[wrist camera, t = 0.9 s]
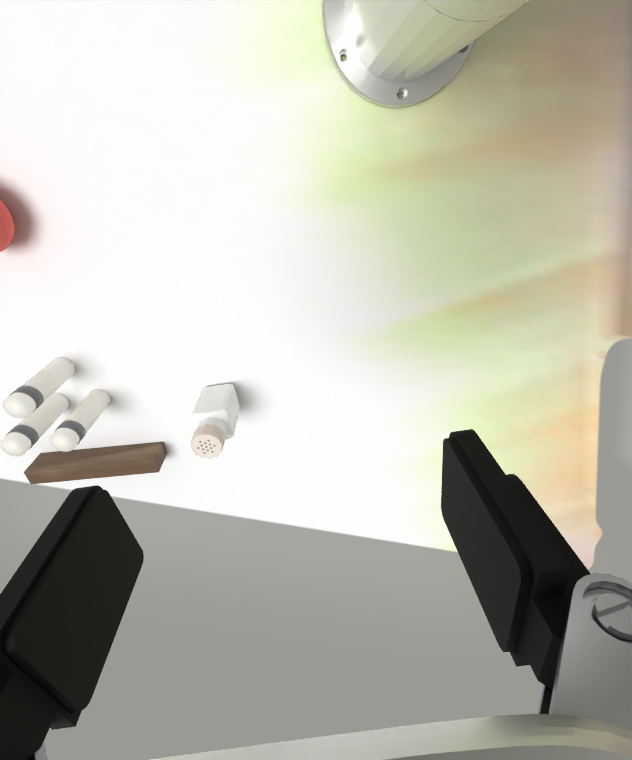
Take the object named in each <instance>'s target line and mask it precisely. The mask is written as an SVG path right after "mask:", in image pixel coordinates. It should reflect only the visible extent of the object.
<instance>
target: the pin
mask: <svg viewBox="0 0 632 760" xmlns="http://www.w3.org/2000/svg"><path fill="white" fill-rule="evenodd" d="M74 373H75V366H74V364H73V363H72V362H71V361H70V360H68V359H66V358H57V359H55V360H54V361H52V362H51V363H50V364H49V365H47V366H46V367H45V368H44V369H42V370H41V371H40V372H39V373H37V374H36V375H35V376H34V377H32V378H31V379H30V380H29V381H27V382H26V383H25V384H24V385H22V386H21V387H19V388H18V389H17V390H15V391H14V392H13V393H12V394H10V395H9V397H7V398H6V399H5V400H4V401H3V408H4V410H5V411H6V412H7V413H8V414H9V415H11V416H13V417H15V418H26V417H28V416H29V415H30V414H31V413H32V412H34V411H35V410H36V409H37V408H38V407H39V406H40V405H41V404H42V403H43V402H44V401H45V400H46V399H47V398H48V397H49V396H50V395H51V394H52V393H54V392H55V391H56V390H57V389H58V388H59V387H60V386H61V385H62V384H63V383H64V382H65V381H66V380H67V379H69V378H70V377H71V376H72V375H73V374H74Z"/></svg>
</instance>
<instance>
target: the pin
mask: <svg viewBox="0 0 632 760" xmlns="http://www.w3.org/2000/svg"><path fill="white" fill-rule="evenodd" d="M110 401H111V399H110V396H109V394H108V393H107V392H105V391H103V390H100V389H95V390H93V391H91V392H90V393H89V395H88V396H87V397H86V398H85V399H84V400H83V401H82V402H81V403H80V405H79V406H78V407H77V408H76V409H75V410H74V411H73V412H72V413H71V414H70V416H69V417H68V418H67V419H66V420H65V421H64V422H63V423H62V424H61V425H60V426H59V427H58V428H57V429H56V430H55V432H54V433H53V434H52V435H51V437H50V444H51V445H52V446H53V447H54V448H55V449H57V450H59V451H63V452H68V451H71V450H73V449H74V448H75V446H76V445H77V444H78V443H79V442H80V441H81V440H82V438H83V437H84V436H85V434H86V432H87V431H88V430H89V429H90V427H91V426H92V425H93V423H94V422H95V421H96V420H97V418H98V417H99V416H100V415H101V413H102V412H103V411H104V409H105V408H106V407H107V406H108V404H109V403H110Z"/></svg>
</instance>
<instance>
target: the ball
mask: <svg viewBox="0 0 632 760" xmlns="http://www.w3.org/2000/svg"><path fill="white" fill-rule="evenodd" d="M14 232H15V227H14V221H13V218H12V216H11V214H10V212H9V210H8V209H7V207H6V206H5V205H4V203H3V202H2V201H1V200H0V252H1V251H3V250H4V249H5V248H7V247H8V246H9V244H10V243H11V241H12V239H13V237H14Z"/></svg>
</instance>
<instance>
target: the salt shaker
mask: <svg viewBox="0 0 632 760" xmlns="http://www.w3.org/2000/svg"><path fill="white" fill-rule="evenodd" d="M239 409H240V405H239V402H238V398H237V395H236V391H235V388H234V386H233V384H223V385H216V386H208V387H205V388H203V389H202V391H201V393H200V396H199V398H198V401H197V403H196V406H195V408H194V411H193V413H192V422H193V426H194V429H195V432H194V435H193V438H192V440H191V449H192V451H193V452H194V453H195V454H196V455H198V456H200V457H202V458H213V457H216V456H218V455H219V454H220V453H221V451H222V449H223V445H224V441H225V440H226V439H230V438H231V437H232V436H234V431H235V427H236V422H237V418H238V413H239Z"/></svg>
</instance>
